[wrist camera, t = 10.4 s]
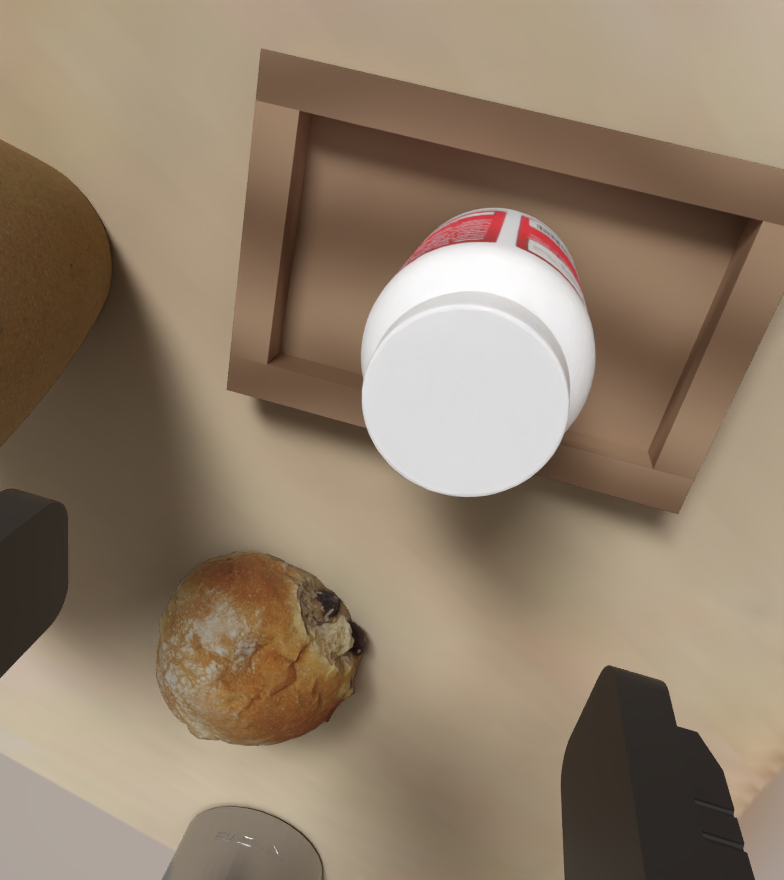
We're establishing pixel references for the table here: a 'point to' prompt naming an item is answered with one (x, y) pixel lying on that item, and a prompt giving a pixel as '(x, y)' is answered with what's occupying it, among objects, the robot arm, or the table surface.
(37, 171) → the plant pot
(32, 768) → the table surface
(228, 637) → the bread roll
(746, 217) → the shallow rectangular tray
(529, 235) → the pill bottle
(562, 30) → the table surface
